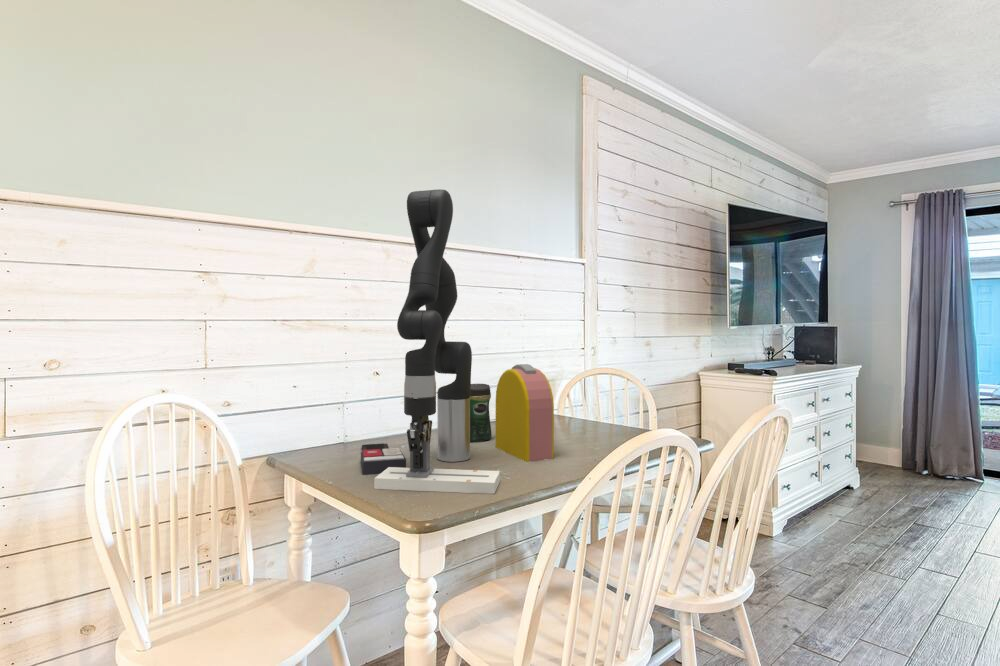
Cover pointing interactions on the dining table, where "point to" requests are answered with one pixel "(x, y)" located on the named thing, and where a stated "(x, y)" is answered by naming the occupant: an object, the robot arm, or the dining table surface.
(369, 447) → the phone
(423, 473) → the fader tab
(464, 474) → the fader console
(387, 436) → the dining table surface
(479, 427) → the coffee jar
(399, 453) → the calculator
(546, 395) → the lunch box
